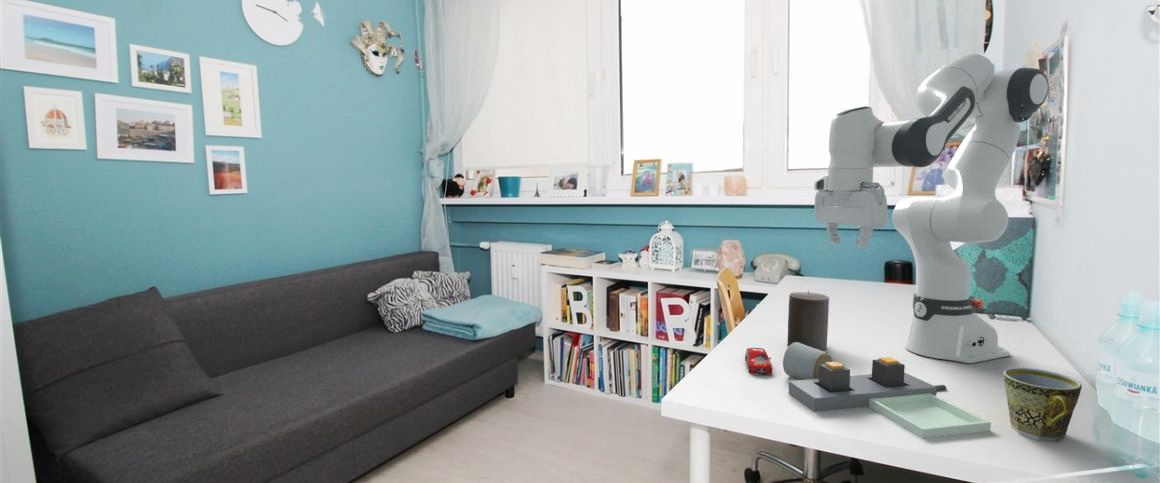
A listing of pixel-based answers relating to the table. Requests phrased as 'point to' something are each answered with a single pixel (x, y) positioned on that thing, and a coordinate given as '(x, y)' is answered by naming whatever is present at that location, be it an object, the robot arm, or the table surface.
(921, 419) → the tray
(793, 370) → the ceramic mug
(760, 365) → the race car
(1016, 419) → the ceramic cup
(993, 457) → the table surface
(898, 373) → the plug
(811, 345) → the pillar candle
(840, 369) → the power strip
